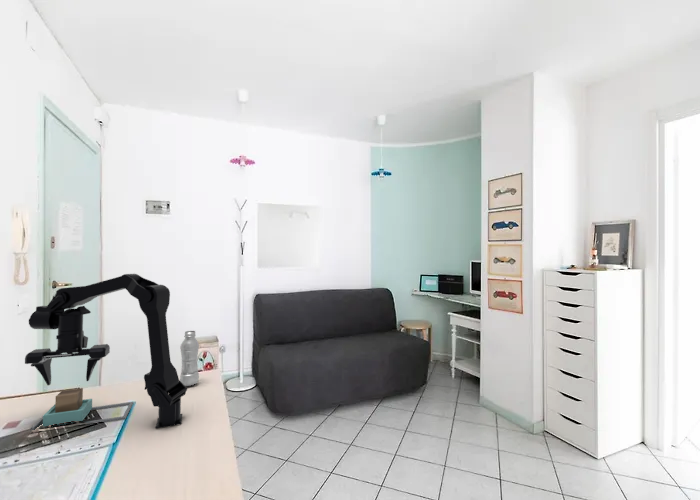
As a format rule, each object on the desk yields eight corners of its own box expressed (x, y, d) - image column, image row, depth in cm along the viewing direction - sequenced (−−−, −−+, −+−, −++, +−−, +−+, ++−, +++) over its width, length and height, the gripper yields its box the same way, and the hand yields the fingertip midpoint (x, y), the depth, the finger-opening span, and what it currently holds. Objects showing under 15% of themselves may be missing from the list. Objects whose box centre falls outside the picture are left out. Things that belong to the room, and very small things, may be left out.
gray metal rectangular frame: (125, 419, 101) (125, 413, 101) (30, 433, 93) (30, 427, 93) (133, 403, 112) (133, 398, 112) (49, 415, 104) (49, 409, 104)
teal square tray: (82, 423, 98) (82, 410, 98) (42, 429, 95) (43, 415, 95) (92, 410, 107) (92, 398, 107) (55, 415, 103) (56, 403, 103)
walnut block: (76, 411, 99) (77, 393, 100) (55, 414, 98) (55, 396, 98) (82, 404, 104) (82, 387, 104) (61, 407, 102) (62, 390, 102)
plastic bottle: (202, 382, 132) (203, 330, 132) (192, 388, 125) (193, 333, 125) (186, 381, 132) (187, 329, 133) (175, 388, 125) (176, 333, 126)
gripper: (114, 322, 112) (113, 370, 112) (42, 326, 105) (40, 378, 105) (105, 329, 102) (103, 382, 102) (24, 334, 95) (22, 391, 95)
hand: (68, 382), depth 101 cm, fingers open, 9 cm apart
